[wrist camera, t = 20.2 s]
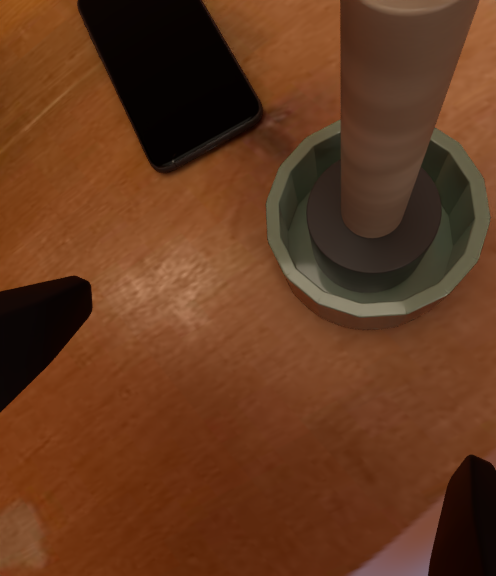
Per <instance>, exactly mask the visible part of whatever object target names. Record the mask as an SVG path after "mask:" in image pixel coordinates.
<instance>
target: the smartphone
mask: <svg viewBox="0 0 496 576" xmlns="http://www.w3.org/2000/svg"><path fill="white" fill-rule="evenodd" d="M77 6H78V10H79V13H80V15H81V17H82V19H83V21H84V25H85V27H86V28H87V30H88V32H89V35H90V38H91V40H92V42H93V44H94V45H95V48H96V50H97V53H98V55H99V57H100V59H101V60H102V62H103V64H104V66H105V69H106V71H107V73H108V75H109V77H110V79H111V81H112V84H113V86H114V88H115V90H116V92H117V94H118V97H119V99H120V101H121V103H122V105H123V107H124V109H125V112H126V114H127V116H128V118H129V120H130V122H131V124H132V127H133V129H134V131H135V133H136V135H137V137H138V139H139V142H140V144H141V146H142V148H143V150H144V152H145V155H146V157H147V159H148V161H149V163H150V164H151V166H152V167H153V168H154V169H155V170H156V171H158V172H162V173H166V172H170V171H173V170H175V169H177V168H179V167H180V166H182V165H184V164H186V163H188V162H190V161H191V160H193V159H195V158H197V157H199V156H200V155H202V154H204V153H206V152H208V151H209V150H211V149H213V148H215V147H217V146H219V145H220V144H222V143H224V142H226V141H228V140H229V139H231V138H233V137H235V136H237V135H238V134H240V133H242V132H244V131H245V130H247V129H249V128H251V127H252V126H254V125H255V124H257V123H258V122H259V120H260V119H261V117H262V113H263V109H262V105H261V102H260V100H259V98H258V96H257V95H256V93H255V91H254V89H253V88H252V86H251V84H250V83H249V81H248V79H247V77H246V76H245V74H244V72H243V70H242V69H241V67H240V65H239V64H238V62H237V60H236V58H235V57H234V55H233V53H232V51H231V50H230V48H229V46H228V44H227V43H226V41H225V39H224V38H223V36H222V34H221V32H220V31H219V29H218V27H217V26H216V24H215V22H214V20H213V19H212V17H211V15H210V13H209V12H208V10H207V8H206V6H205V5H204V3H203V1H202V0H78V2H77Z"/></svg>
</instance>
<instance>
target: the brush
mask: <svg viewBox="0 0 496 576" xmlns="http://www.w3.org/2000/svg"><path fill="white" fill-rule="evenodd" d="M478 3H479V0H340V44H341V159H340V160H338V161H337V162H335V163H334V164H332V165H331V166H330V167H329V168H327V169H326V170H325V171H324V172H323V173H322V174H321V176H320V177H319V178H318V179H317V181H316V182H315V184H314V186H313V188H312V190H311V192H310V195H309V198H308V202H307V209H306V218H307V225H308V230H309V235H310V240H311V245H312V249H313V254H314V257H315V260H316V262H317V264H318V266H319V267H320V269H321V270H322V272H323V273H324V274H325V275H326V276H327V277H328V278H329V279H330V280H331V281H333V282H334V283H336V284H337V285H339V286H341V287H343V288H345V289H348V290H351V291H355V292H360V293H376V292H381V291H385V290H388V289H391V288H393V287H395V286H397V285H399V284H400V283H402V282H403V281H405V280H406V279H407V278H408V277H409V276H410V275H411V274H412V273H413V272H414V271H415V269H416V268H417V266H418V265H419V263H420V262H421V260H422V258H423V257H424V255H425V253H426V252H427V250H428V249H429V247H430V245H431V244H432V242H433V240H434V239H435V236H436V234H437V232H438V229H439V226H440V222H441V216H442V207H441V200H440V196H439V192H438V190H437V188H436V185H435V183H434V182H433V180H432V179H431V177H430V176H429V175H428V174H427V172H426V171H425V170H424V169H423V168H422V167H421V164H422V162H423V159H424V156H425V153H426V150H427V147H428V145H429V142H430V139H431V136H432V133H433V131H434V128H435V125H436V122H437V119H438V116H439V114H440V111H441V108H442V105H443V102H444V99H445V97H446V94H447V91H448V88H449V85H450V82H451V80H452V77H453V74H454V71H455V68H456V65H457V63H458V60H459V57H460V54H461V51H462V48H463V46H464V43H465V40H466V37H467V34H468V31H469V29H470V26H471V23H472V20H473V17H474V14H475V12H476V9H477V6H478Z"/></svg>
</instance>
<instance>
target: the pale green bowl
mask: <svg viewBox="0 0 496 576" xmlns="http://www.w3.org/2000/svg"><path fill="white" fill-rule="evenodd" d="M340 159H341V119H340V120H338V121H336V122H335V123H333V124H331V125H329V126H327V127H325V128H323V129H321V130H319V131H317V132H315V133H313V134H312V135H310V136H308V137H307V138H305V139H304V140H303V141H302V142H301V143H300V145H299V146H298V147H297V148H296V149H295V150H294V151H293V152H292V153H291V154H290V156H289V157H288V158H287V159H286V160H285V161H284V162H283V163H282V164H281V165H280V167H279V169H278V171H277V174H276V177H275V179H274V182H273V185H272V187H271V190H270V193H269V195H268V198H267V201H266V221H267V240H268V243H269V245H270V247H271V249H272V251H273V253H274V255H275V258H276V260H277V262H278V264H279V266H280V268H281V270H282V272H283V274H284V276H285V278H286V280H287V282H288V284H289V286H290V288H291V290H292V292H293V293H294V295H295V296H296V297H297V298H299V299H300V301H301V302H303V303H304V304H305V305H306V306H307V307H308V308H309V309H310V310H311V311H313V312H314V313H315V314H317V315H318V316H320V317H321V318H323V319H325V320H327V321H330V322H332V323H334V324H337V325H340V326H344V327H347V328H352V329H358V330H380V329H388V328H394V327H398V326H400V325H402V324H405V323H407V322H410V321H412V320H414V319H416V318H418V317H419V316H421V315H423V314H425V313H427V312H429V311H430V310H432V309H433V308H434V307H435V306H436V305H438V304H439V303H440V302H441V301H442V300H443V299H444V298H445V297H446V296H447V295H449V294H450V293H451V291H452V290H453V289H454V288H455V287H456V286H457V285H458V284H459V282H460V281H461V280H462V279H463V278H464V277H465V276H466V274H467V273H468V272H469V271H470V270H471V269H472V268H473V267H474V265H475V264H476V263H477V261H478V260H479V257H480V254H481V250H482V247H483V244H484V240H485V237H486V234H487V230H488V227H489V224H490V212H489V206H488V200H487V194H486V187H485V181H484V178H483V176H482V175H481V173H480V172H479V170H478V169H477V168H476V166H475V165H474V163H473V162H472V160H471V159H470V157H469V156H468V154H467V153H466V152H465V150H464V149H463V147H462V146H461V145H460V143H459V142H457V141H455V140H454V139H452V138H451V137H449V136H448V135H446V134H444V133H443V132H441V131H440V130H438V129H437V128H434V131H433V133H432V136H431V139H430V142H429V145H428V147H427V150H426V153H425V156H424V159H423V162H422V164H421V167H422V168H423V169H424V170H425V171H426V172H427V174H428V175H429V176H430V177H431V179H432V180H433V182H434V183H435V185H436V188H437V190H438V192H439V196H440V200H441V207H442V216H441V222H440V226H439V229H438V232H437V234H436V236H435V239H434V240H433V242H432V244H431V245H430V247H429V249H428V250H427V252H426V253H425V255H424V257H423V258H422V260H421V262H420V263H419V265H418V266H417V268H416V269H415V271H414V272H413V273H412V274H411V275H410V276H409V277H408V278H407V279H406V280H405V281H403V282H402V283H400V284H399V285H397V286H395V287H393V288H391V289H388V290H385V291H381V292H376V293H360V292H355V291H351V290H348V289H345V288H343V287H341V286H339V285H337V284H336V283H334V282H333V281H331V280H330V279H329V278H328V277H327V276H326V275H325V274H324V273H323V272H322V270H321V269H320V267H319V266H318V264H317V262H316V260H315V257H314V254H313V249H312V245H311V240H310V235H309V230H308V225H307V218H306V209H307V202H308V198H309V195H310V192H311V190H312V188H313V186H314V184H315V182H316V181H317V179H318V178H319V177H320V176H321V174H322V173H323V172H324V171H325V170H326V169H327V168H329V167H330V166H331V165H332V164H334V163H335V162H337V161H338V160H340Z"/></svg>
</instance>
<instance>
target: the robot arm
mask: <svg viewBox="0 0 496 576" xmlns="http://www.w3.org/2000/svg"><path fill="white" fill-rule="evenodd" d="M91 312H92V292H91V285H90V283H89V282H88V281H87V280H85V279H82V278H80V277H78V276H69V277H65V278H60V279H56V280H51V281H46V282H42V283H37V284H33V285H28V286H24V287H19V288H14V289H10V290H5V291H1V292H0V412H1V411H2V410H3V409H4V408H5V407H6V406H7V405H8V404H9V403H10V402H11V401H12V400H14V399H15V398H16V397H17V396H18V395H19V394H20V393H21V392H22V391H23V390H24V389H25V388H26V387H27V386H28V385H29V384H30V383H31V382H32V381H33V380H34V379H35V378H36V377H37V376H38V375H39V374H40V373H41V372H42V371H43V370H44V369H45V368H46V367H47V366H48V365H49V364H50V363H51V362H52V361H53V359H54V358H55V357H56V356H57V355H58V354H59V352H60V351H61V350H62V349H63V348H64V346H65V345H66V344H67V343H68V342H69V340H70V339H71V338H72V337H73V336H74V334H75V333H76V332H77V331H78V330H79V328H80V327H81V326H82V325H83V323H84V322H85V321H86V320H87V319H88V317H89V316H90V314H91ZM428 576H496V470H495V468H494V466H493V465H492V464H491V463H490V462H488V461H486V460H483V459H481V458H479V457H477V456H475V455H468V456H467V457H466V458H465V459H464V461H463V462H462V463H461V465H460V466H459V467H458V469H457V470H456V471H455V473H454V474H453V475H452V477H451V479H450V481H449V483H448V486H447V490H446V494H445V498H444V502H443V507H442V511H441V515H440V519H439V524H438V528H437V532H436V536H435V541H434V545H433V550H432V554H431V559H430V565H429V572H428Z"/></svg>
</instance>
